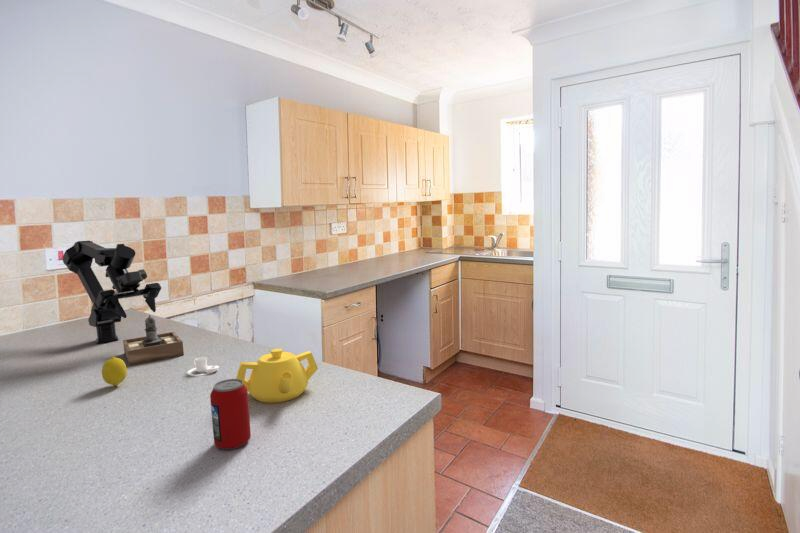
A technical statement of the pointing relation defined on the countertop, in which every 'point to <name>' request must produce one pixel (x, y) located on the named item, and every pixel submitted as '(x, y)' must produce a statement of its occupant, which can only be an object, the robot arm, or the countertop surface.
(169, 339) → the walnut box
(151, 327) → the grey stone tall piece
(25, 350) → the countertop surface
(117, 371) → the lemon
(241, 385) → the beverage can
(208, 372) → the teacup and saucer
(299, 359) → the teapot
